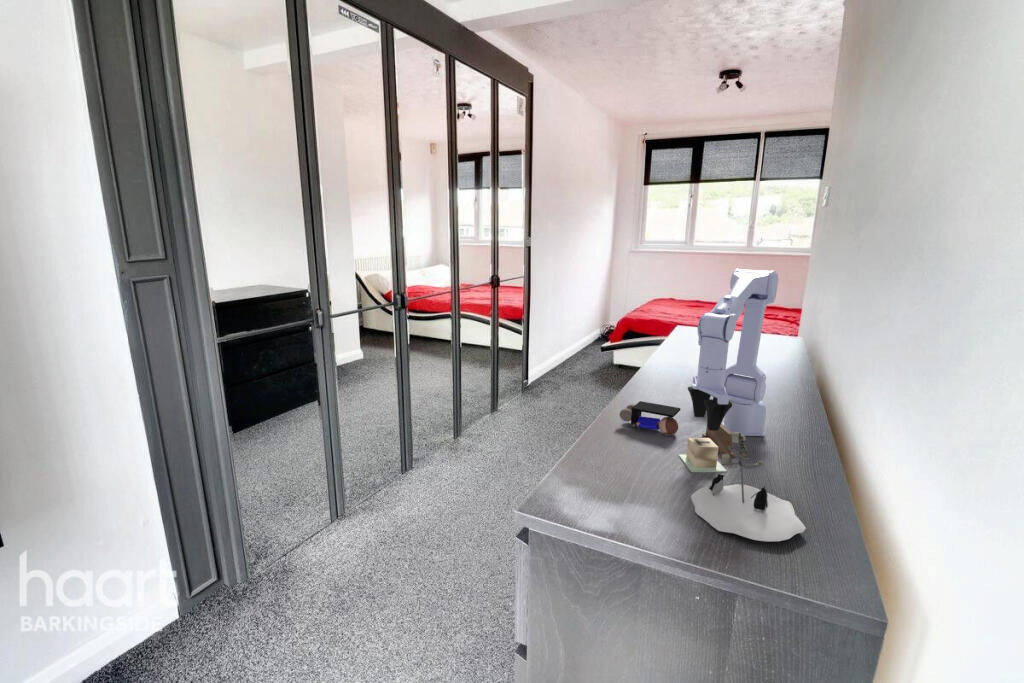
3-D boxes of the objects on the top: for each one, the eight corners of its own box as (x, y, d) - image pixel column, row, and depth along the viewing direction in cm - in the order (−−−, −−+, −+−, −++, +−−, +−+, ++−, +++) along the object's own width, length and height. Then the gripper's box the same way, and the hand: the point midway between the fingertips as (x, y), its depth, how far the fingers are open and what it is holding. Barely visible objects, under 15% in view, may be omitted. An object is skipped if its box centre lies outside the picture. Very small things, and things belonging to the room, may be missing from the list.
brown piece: (713, 436, 124) (715, 415, 123) (734, 457, 112) (737, 434, 111) (702, 436, 124) (704, 415, 123) (722, 457, 112) (725, 433, 111)
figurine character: (619, 432, 130) (674, 440, 121) (617, 405, 128) (673, 412, 119) (628, 424, 135) (681, 432, 126) (627, 399, 134) (681, 404, 125)
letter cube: (707, 457, 111) (709, 437, 110) (716, 467, 106) (718, 446, 105) (686, 457, 111) (688, 437, 110) (694, 467, 106) (696, 446, 105)
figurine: (830, 533, 82) (835, 444, 80) (746, 554, 77) (749, 459, 74) (743, 487, 101) (745, 414, 99) (671, 501, 96) (671, 424, 93)
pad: (711, 456, 113) (711, 454, 112) (726, 472, 105) (726, 470, 105) (678, 455, 112) (678, 454, 112) (691, 472, 105) (691, 470, 105)
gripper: (682, 358, 111) (677, 411, 114) (708, 375, 97) (701, 436, 100) (711, 358, 111) (705, 411, 114) (741, 376, 97) (734, 436, 100)
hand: (705, 423), depth 107 cm, fingers open, 7 cm apart
